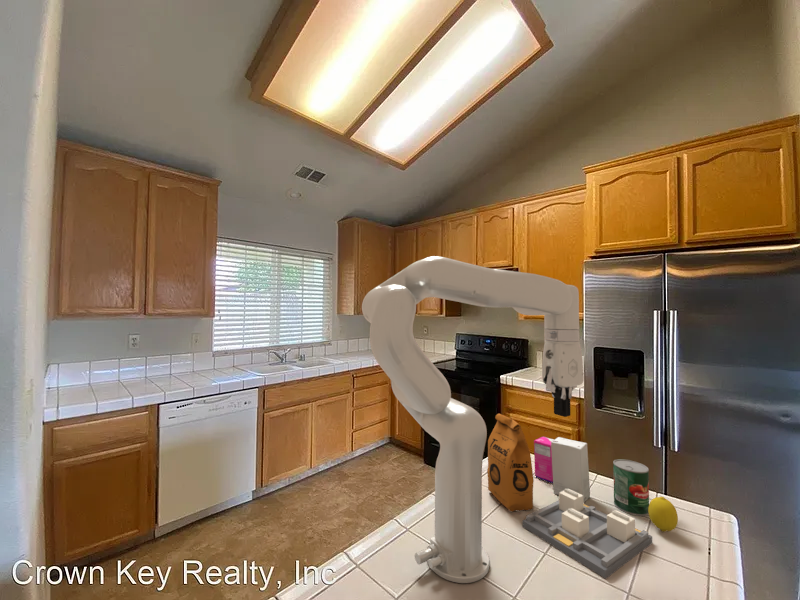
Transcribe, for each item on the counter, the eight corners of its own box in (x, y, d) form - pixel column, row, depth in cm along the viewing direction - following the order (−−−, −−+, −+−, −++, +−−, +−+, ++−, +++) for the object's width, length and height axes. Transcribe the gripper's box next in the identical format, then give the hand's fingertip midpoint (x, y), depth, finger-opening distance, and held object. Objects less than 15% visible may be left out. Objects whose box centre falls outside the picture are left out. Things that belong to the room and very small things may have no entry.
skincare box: (590, 497, 96) (589, 443, 97) (582, 505, 92) (582, 448, 93) (559, 486, 102) (559, 435, 103) (551, 493, 98) (550, 440, 99)
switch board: (605, 578, 66) (605, 565, 66) (522, 526, 82) (522, 516, 82) (652, 543, 77) (652, 531, 77) (570, 503, 93) (570, 493, 93)
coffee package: (503, 515, 87) (504, 426, 88) (483, 490, 99) (483, 413, 100) (539, 511, 89) (539, 425, 90) (515, 487, 101) (515, 411, 102)
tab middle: (579, 541, 75) (578, 519, 75) (561, 531, 78) (561, 510, 78) (589, 535, 77) (588, 513, 77) (571, 525, 80) (571, 505, 80)
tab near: (626, 543, 74) (626, 521, 74) (606, 533, 77) (606, 512, 78) (635, 537, 76) (634, 516, 76) (615, 527, 80) (615, 507, 80)
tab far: (574, 516, 84) (574, 497, 84) (559, 508, 87) (559, 490, 87) (583, 511, 86) (583, 492, 86) (568, 504, 89) (568, 486, 90)
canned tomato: (618, 496, 97) (617, 456, 97) (652, 507, 91) (651, 465, 92) (610, 507, 91) (609, 464, 92) (646, 520, 86) (645, 474, 86)
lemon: (649, 521, 85) (648, 488, 85) (678, 531, 81) (677, 496, 82) (647, 532, 81) (647, 497, 81) (678, 542, 77) (677, 506, 77)
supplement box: (543, 471, 112) (542, 435, 112) (561, 478, 107) (560, 441, 108) (533, 476, 108) (533, 439, 109) (552, 484, 104) (551, 445, 104)
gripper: (557, 338, 75) (557, 424, 74) (594, 337, 83) (595, 414, 82) (527, 336, 81) (528, 415, 80) (565, 335, 89) (565, 407, 88)
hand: (562, 414), depth 81 cm, fingers closed
